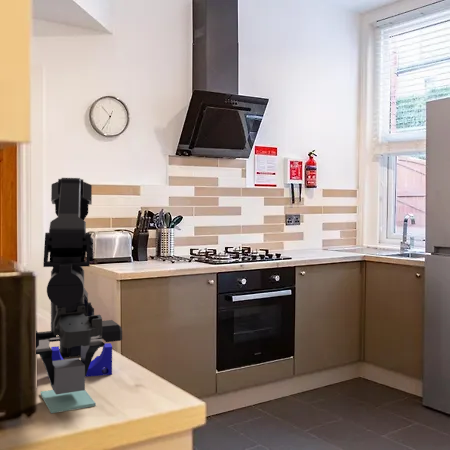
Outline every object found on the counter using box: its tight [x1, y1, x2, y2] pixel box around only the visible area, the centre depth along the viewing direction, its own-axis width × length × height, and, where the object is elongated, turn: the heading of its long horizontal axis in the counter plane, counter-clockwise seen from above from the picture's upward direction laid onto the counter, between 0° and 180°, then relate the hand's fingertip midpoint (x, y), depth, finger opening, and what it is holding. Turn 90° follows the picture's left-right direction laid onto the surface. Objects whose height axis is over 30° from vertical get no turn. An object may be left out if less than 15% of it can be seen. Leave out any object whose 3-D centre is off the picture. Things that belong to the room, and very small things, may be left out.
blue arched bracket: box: [50, 342, 113, 378], centre depth 114 cm, size 12×4×6 cm, turn 108°
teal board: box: [40, 389, 97, 414], centre depth 99 cm, size 10×8×1 cm
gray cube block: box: [50, 357, 86, 394], centre depth 99 cm, size 5×5×4 cm
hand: (67, 382), depth 99 cm, fingers closed on gray cube block, 5 cm apart
